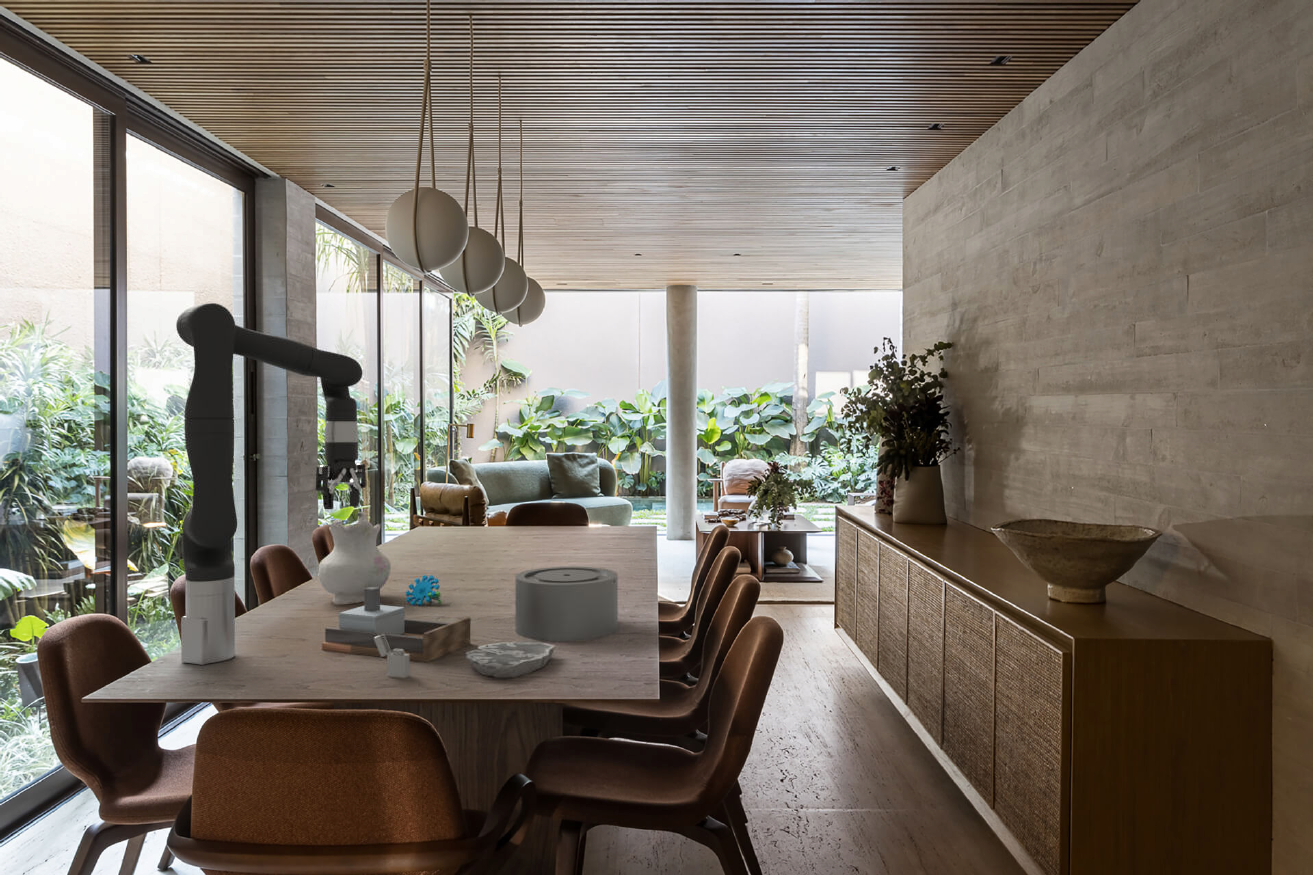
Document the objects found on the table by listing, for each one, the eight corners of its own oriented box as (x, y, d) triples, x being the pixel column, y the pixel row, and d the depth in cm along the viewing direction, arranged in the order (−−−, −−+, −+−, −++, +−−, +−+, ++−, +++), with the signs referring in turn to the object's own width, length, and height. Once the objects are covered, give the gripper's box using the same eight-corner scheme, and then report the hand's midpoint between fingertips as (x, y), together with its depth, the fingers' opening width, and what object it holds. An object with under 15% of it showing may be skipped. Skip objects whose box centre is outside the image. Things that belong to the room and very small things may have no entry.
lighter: (410, 675, 161) (409, 635, 161) (405, 677, 160) (405, 637, 159) (378, 672, 163) (378, 632, 163) (373, 675, 161) (373, 635, 161)
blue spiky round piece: (397, 598, 228) (418, 570, 233) (407, 609, 231) (428, 581, 237) (425, 607, 222) (446, 578, 228) (435, 619, 226) (456, 590, 232)
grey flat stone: (498, 651, 180) (498, 637, 180) (566, 658, 174) (566, 644, 174) (444, 675, 162) (444, 660, 162) (518, 685, 156) (518, 669, 156)
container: (594, 645, 184) (594, 587, 184) (496, 637, 192) (496, 581, 192) (631, 621, 208) (631, 569, 208) (543, 614, 215) (543, 564, 215)
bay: (427, 662, 170) (427, 633, 170) (322, 649, 180) (321, 622, 180) (470, 643, 185) (470, 617, 185) (371, 632, 195) (371, 607, 195)
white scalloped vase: (322, 598, 241) (315, 515, 240) (391, 588, 248) (384, 507, 247) (320, 613, 221) (312, 523, 220) (395, 602, 228) (387, 514, 227)
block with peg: (375, 643, 179) (375, 593, 179) (338, 639, 182) (338, 590, 182) (404, 633, 188) (404, 585, 188) (369, 629, 192) (369, 582, 192)
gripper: (332, 440, 187) (332, 511, 188) (374, 440, 201) (374, 505, 201) (307, 440, 190) (307, 509, 190) (350, 440, 203) (350, 504, 204)
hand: (341, 507), depth 196 cm, fingers open, 8 cm apart
